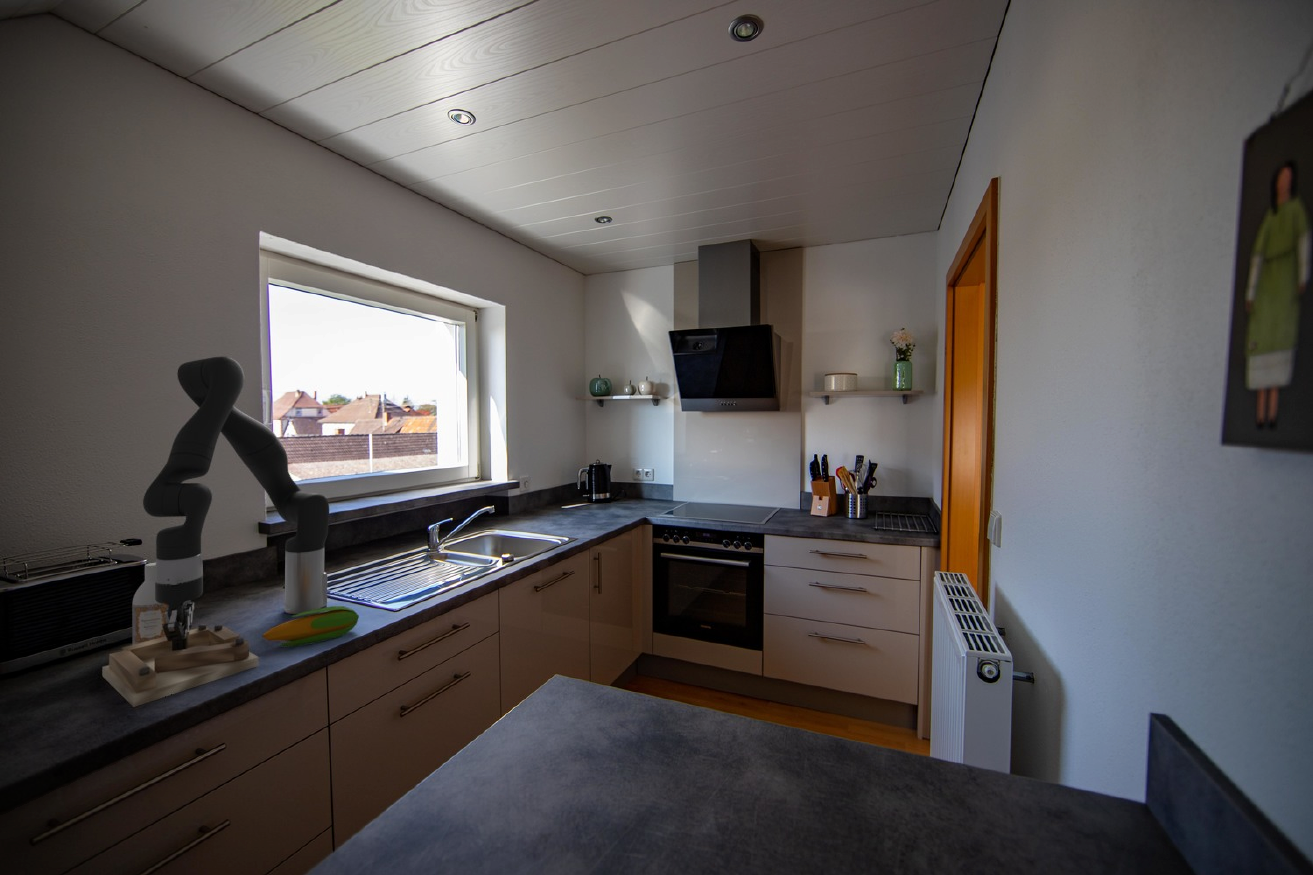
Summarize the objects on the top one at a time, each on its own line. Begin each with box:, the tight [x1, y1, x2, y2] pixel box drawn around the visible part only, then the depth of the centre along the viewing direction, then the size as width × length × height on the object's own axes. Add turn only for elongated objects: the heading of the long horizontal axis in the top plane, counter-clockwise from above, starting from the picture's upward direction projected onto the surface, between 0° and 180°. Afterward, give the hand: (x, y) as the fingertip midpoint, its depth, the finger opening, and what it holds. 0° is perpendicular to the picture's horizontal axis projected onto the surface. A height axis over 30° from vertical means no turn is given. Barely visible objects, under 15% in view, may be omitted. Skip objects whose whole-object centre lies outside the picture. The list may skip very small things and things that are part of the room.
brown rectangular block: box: [154, 636, 250, 673], centre depth 111 cm, size 15×3×4 cm, turn 119°
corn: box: [262, 605, 360, 648], centre depth 129 cm, size 7×8×20 cm
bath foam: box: [131, 562, 168, 645], centre depth 121 cm, size 7×7×20 cm
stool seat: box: [101, 623, 259, 708], centre depth 112 cm, size 20×20×6 cm
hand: (180, 654), depth 112 cm, fingers closed
